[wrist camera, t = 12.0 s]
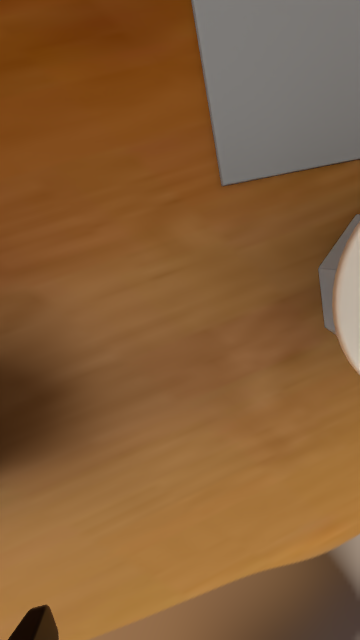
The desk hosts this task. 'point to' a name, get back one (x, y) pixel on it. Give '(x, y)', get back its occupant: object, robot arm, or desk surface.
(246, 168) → the mat
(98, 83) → the desk surface
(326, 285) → the bowl
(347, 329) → the lid
